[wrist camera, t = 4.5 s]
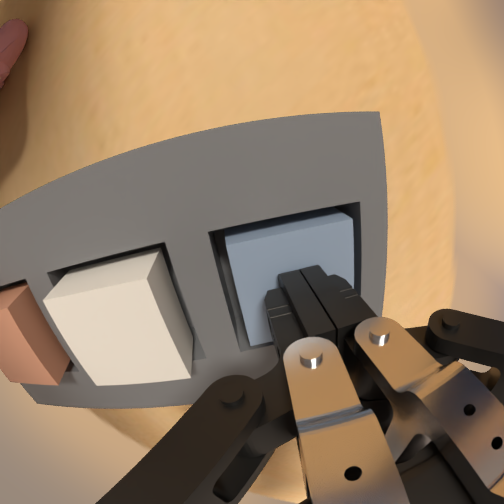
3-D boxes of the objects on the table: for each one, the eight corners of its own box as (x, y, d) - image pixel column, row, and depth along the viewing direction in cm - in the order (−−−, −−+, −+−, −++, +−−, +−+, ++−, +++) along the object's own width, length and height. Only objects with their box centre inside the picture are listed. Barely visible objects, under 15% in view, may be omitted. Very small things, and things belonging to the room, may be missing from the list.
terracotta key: (-10, 292, 9) (-33, 316, 7) (34, 279, 10) (7, 308, 7) (26, 354, 11) (10, 382, 9) (74, 352, 11) (58, 385, 9)
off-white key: (69, 270, 10) (42, 300, 7) (160, 247, 10) (146, 278, 8) (109, 349, 12) (96, 385, 9) (193, 337, 12) (191, 378, 9)
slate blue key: (223, 223, 11) (226, 245, 9) (326, 203, 11) (352, 219, 9) (244, 311, 13) (250, 346, 11) (331, 290, 13) (352, 318, 11)
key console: (-17, 223, 10) (-55, 245, 7) (334, 117, 12) (379, 111, 8) (54, 366, 15) (37, 403, 12) (347, 317, 16) (375, 358, 13)
